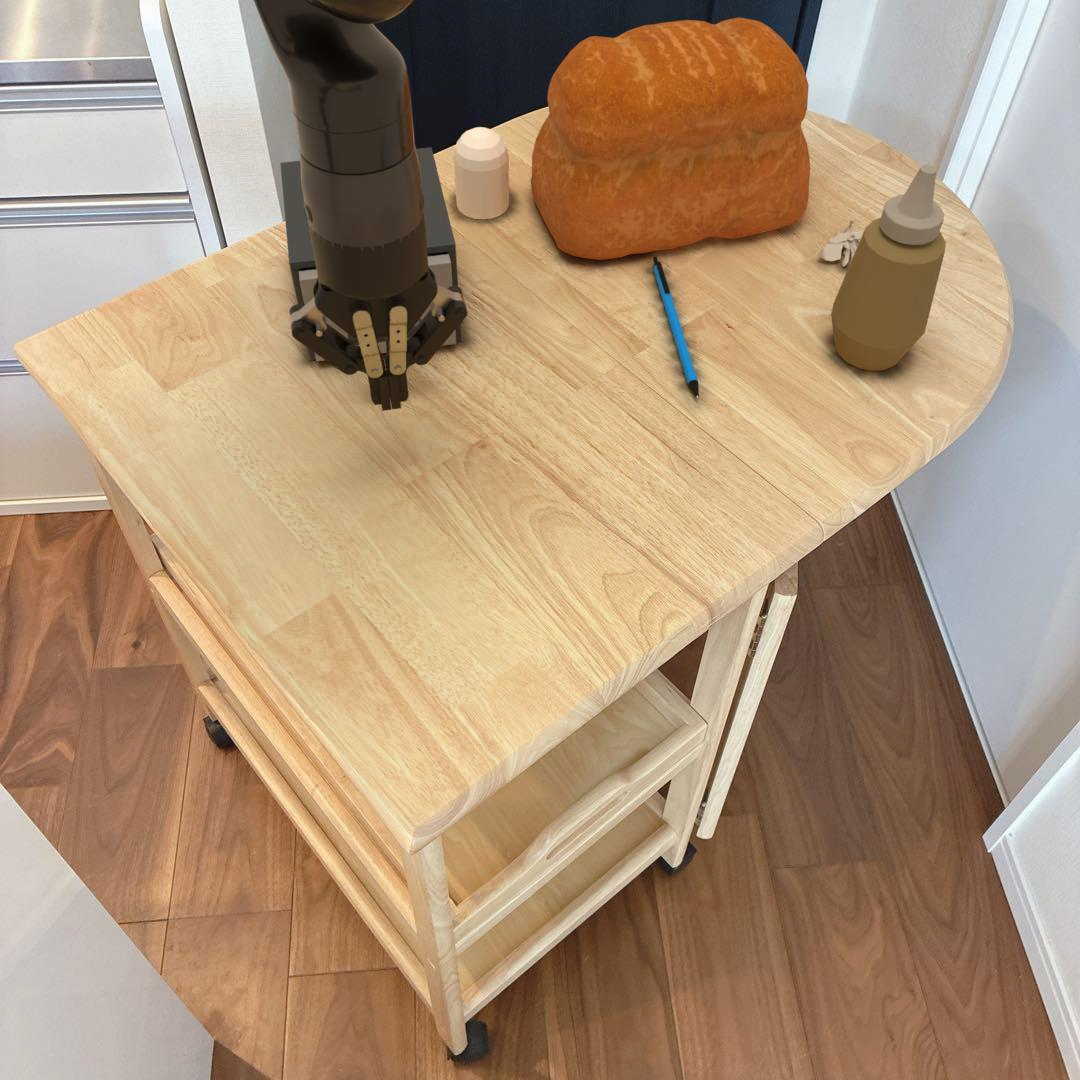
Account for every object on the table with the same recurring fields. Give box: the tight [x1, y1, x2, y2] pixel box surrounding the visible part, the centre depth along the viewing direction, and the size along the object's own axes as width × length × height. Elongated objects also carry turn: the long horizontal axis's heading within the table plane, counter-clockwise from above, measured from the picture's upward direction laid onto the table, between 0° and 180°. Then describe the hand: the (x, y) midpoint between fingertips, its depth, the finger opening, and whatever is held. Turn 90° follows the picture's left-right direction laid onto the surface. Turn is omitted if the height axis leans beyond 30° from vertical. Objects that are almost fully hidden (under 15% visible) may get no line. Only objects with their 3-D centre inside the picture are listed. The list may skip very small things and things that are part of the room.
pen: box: [652, 255, 700, 399], centre depth 95 cm, size 1×19×1 cm, turn 7°
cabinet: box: [279, 147, 462, 361], centre depth 93 cm, size 14×13×10 cm
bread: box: [530, 16, 811, 261], centre depth 100 cm, size 16×26×17 cm, turn 106°
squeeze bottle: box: [830, 164, 947, 372], centre depth 87 cm, size 8×8×18 cm
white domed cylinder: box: [453, 126, 510, 220], centre depth 104 cm, size 5×5×8 cm
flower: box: [817, 219, 864, 268], centre depth 101 cm, size 8×8×3 cm
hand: (390, 402), depth 82 cm, fingers closed
